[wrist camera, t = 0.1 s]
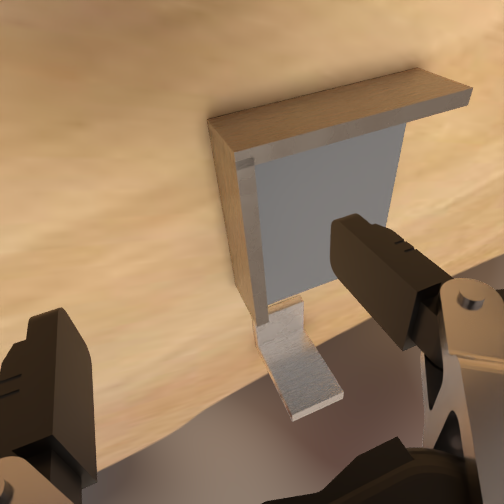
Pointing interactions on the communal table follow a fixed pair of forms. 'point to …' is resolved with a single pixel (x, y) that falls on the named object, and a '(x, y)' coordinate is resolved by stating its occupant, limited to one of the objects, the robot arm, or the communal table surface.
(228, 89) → the communal table surface
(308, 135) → the corner walls
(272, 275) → the corner mat
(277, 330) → the aluminium bracket
